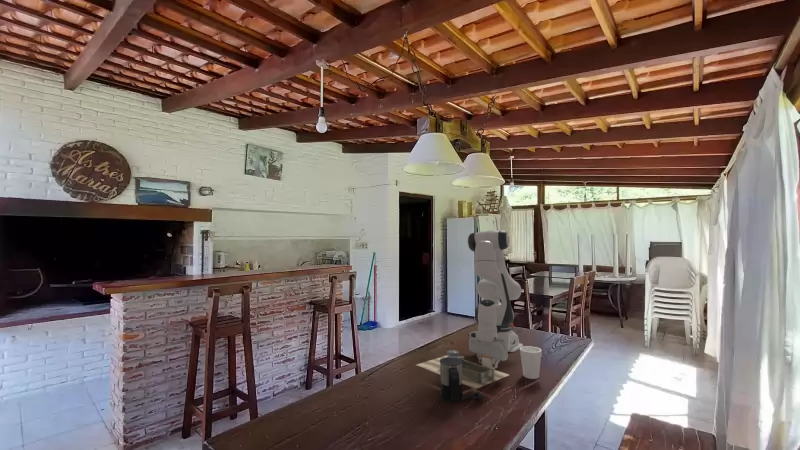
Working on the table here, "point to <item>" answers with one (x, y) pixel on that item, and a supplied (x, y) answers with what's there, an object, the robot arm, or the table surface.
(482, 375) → the cream rippled cloth
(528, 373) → the foam cup
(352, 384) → the table surface
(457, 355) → the jar
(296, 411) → the table surface
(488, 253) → the robot arm
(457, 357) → the pusher
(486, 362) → the jar
